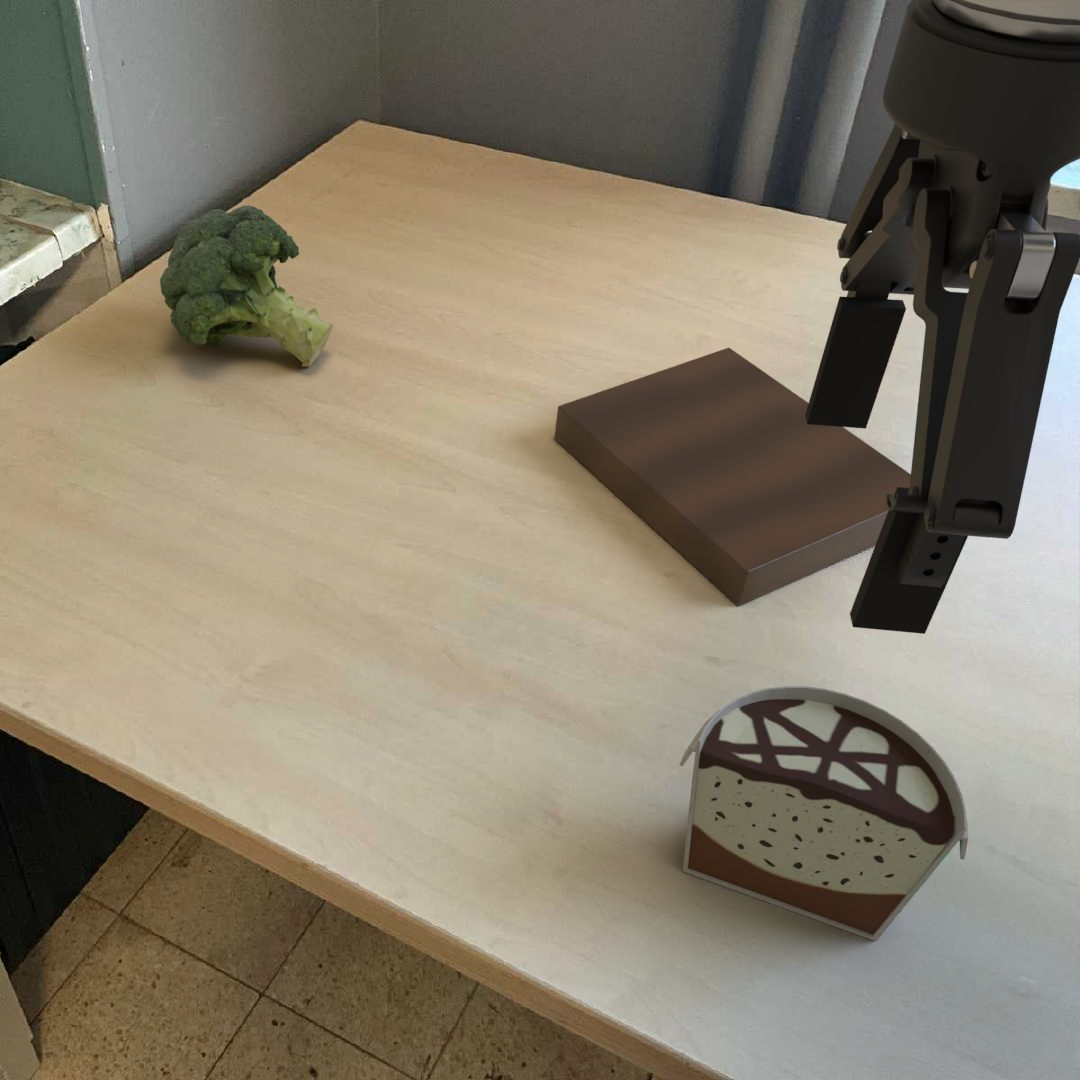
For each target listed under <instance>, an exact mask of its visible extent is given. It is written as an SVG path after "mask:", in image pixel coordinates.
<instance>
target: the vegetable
mask: <svg viewBox="0 0 1080 1080" xmlns="http://www.w3.org/2000/svg"><path fill="white" fill-rule="evenodd" d="M299 251H300V247H299V245H297V244H296V242H295V241H294V239H293V236H292V235H289V234H288V231H287V230H285V229H284V228H283V227H282V226H281V225H280V224H279V223H277V222H276V221H275V220H274V219H273V218H272V217H271V216H269V215H267V214H266V213H264V211H263V209H261V208H260V209H259V208H257V207H255V206H253V205H241V206H239V207H237V208H234V209H232V210H231V211H229V212H227V211H224V210H223V209H220V208H218V209H211V210H208V212H206V213H205V214H202V215H198V216H197V217H195V218H194V219H192V220H188V221H187V222H186V223H185V224H182V226H181V228H180V230H179V232H178V234H177V236H176V237H175V240H174V242H173V246H172V249H171V251H170V253H169V257H168V259H167V267H166V268H165V269H164V270H163V273H162V275H161V277H160V278H159V282H160V292H161V295H162V296H163V297H164V303H165V304H166V306H167V307H168V308H169V309H170V310H171V312H170V318H171V319H170V322H171V324H172V326H173V327H174V328H175V329H176V331H177V332H178V334H179V336H180V337H181V338H183V339H185V340H186V342H187V343H189V344H190V343H192V344H195V345H198V346H202V345H205V344H206V343H210V344H213V345H221V344H222V343H223V342H224V337H225V336H227V335H228V336H239V337H248V338H249V337H250V338H268V339H269V338H271V339H273V340H275V341H277V342H278V343H279V345H280V347H281V348H282V349H284V350H286V351H287V352H289V353H290V354H292V355H293V356H294V357H295V358H296V359H298V360H299V361H300V362H301V363H302V364H301V366H302V367H305V368H310V367H311V366H312V365H313V364H314V363H315V362H316V361H317V359H319V358H320V355H321V353H322V351H323V350H324V349H325V347H326V345H327V342H328V339H329V338H330V335H331V333H332V330H333V327H334V324H331V323H329V322H327V321H325V320H324V319H322V318H321V317H320V316H319V311H318V310H317V308H313V309H310V310H307V309H305V308H304V307H302V306H300V305H299V304H297V303H295V301H294V296H290V294H289V292H287V291H286V289H284V288H283V287H282V286H280V285H279V286H278V284H277V281H276V275H277V274H276V273H277V272H276V267H275V266H274V264H276V262H277V261H279V264H284V263H286V262H287V261H288V259H289V258H290V259H291V260H293V259H295V258H296V257H298V256H299V255H300V252H299Z"/></svg>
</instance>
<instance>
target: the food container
mask: <svg viewBox="0 0 1080 1080" xmlns="http://www.w3.org/2000/svg"><path fill="white" fill-rule="evenodd" d="M692 753H694V761H693V770H692V780H691V789H690V798H689V808H688V816H687V817H688V818H687V823H686V824H687V826H686V834H685V843H684V851H683V852H684V853H683V861H682V862H683V863H682V872H683V873H686V874H688V875H691V876H694V877H697V878H700V879H703V880H704V881H705V880H706V881H708V882H711V883H713V884H716V885H719V886H722V887H724V888H727V889H730V890H733V891H735V892H739V893H741V894H744V895H746V896H750V897H752V898H755V899H758V900H761V901H763V902H766V903H769V904H771V905H774V906H777V907H779V908H782V909H785V910H788V911H791V912H794V913H795V914H798V915H801V916H805V917H808V918H810V919H813V920H815V921H818V922H821V923H824V924H827V925H830V926H832V927H835V928H838V929H841V930H843V931H846V932H849V933H851V934H853V935H857V936H860V937H863V938H866V939H868V940H871V941H873V942H877V941H878V940H879V938H880V937H881V936H882V935H883V934H884V933H885V932H886V930H887V929H888V927H889V926H890V925H891V924H892V923H893V922H894V920H895V919H896V918H897V917H898V915H899V914H900V913H901V912H902V911H903V910H904V908H905V907H906V906H907V904H909V902H910V901H911V899H913V897H914V896H915V895H916V893H917V892H918V891H919V890H920V889H921V887H923V885H924V884H925V882H927V880H928V879H929V878H930V876H931V875H932V874H933V873H934V872H935V870H936V869H937V868H938V867H939V865H941V863H942V862H943V860H945V858H946V857H947V856H948V855H949V853H950V852H951V851H952V849H953V848H954V847H955V846H956V845H957V844H958V842H959V860H965V858H966V853H967V847H968V842H969V825H968V824H969V823H968V819H967V810H966V806H965V802H964V797H963V794H962V792H961V790H960V789H961V788H960V787H959V785H958V781H957V780H956V777H955V776H954V774H953V772H952V771H951V769H950V768H949V766H948V764H947V763H946V761H945V760H944V759H943V758H942V757H941V755H940V754H939V753H938V752H937V750H936V749H935V748H934V746H932V745H931V744H930V743H929V742H928V741H927V739H925V738H924V737H923V736H922V735H921V734H920V733H919V732H917V731H916V730H915V729H914V728H913V727H911V726H909V725H908V724H907V723H906V722H904V721H903V720H902V719H900V718H898V717H897V716H895V715H893V714H892V713H890V712H888V711H887V710H886V709H884V708H881V707H880V706H877V705H874V704H873V703H871V702H869V701H867V700H864V699H861V698H858V697H856V696H852V695H850V694H847V693H844V692H840V691H835V690H831V689H827V688H822V687H814V686H805V685H802V686H801V685H784V686H783V685H782V686H774V687H767V688H763V689H759V690H755V691H751V692H749V693H746V694H743V695H742V696H739V697H737V698H735V699H733V700H732V701H730V702H729V703H727V704H726V705H724V706H722V708H721V709H719V710H717V711H716V712H715V713H714V714H713V715H711V717H709V718H708V719H707V720H706V721H705V722H704V724H703V725H702V726H701V727H700V729H699V730H698V732H697V733H696V734H695V736H694V737H693V739H692V740H691V742H690V744H689V745H688V746H687V748H686V749H685V750H684V753H683V756H682V758H681V760H680V762H679V766H681V767H683V766H684V765H685V764H686V763H687V761H688V760H689V758H690V757H691V755H692Z"/></svg>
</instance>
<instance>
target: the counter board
mask: <svg viewBox="0 0 1080 1080" xmlns="http://www.w3.org/2000/svg"><path fill="white" fill-rule="evenodd" d="M808 404H809V401H806V400H805V399H804V398H803V397H801V396H799V395H798V394H797V393H795V392H793V391H792V390H791V389H790V388H788V387H786V386H785V385H784V384H782V383H780V382H779V381H778V380H776V379H775V378H774V377H772V376H771V375H769V374H768V373H766V372H765V371H763V370H762V369H761V368H759V367H758V366H757V365H756V364H754V363H752V362H751V361H749V360H748V359H746V358H745V357H743V356H742V355H741V354H739V353H738V352H736V351H735V350H733V349H732V348H731V347H726V348H723V349H719V350H717V351H715V352H711V353H708V354H706V355H703V356H700V357H697V358H694V359H691V360H688V361H685V362H682V363H679V364H676V365H674V366H671V367H668V368H664V369H662V370H659V371H656V372H653V373H650V374H647V375H645V376H642V377H639V378H636V379H633V380H630V381H628V382H624V383H622V384H618V385H616V386H613V387H609V388H607V389H604V390H601V391H598V392H595V393H592V394H589V395H587V396H583V397H581V398H578V399H575V400H572V401H570V402H569V401H568V402H567V403H566V402H565V403H564V404H560V405H558V406H557V411H556V420H555V429H554V437H553V439H554V440H555V441H556V442H557V443H558V444H559V445H560V446H561V447H562V448H563V449H564V450H565V451H567V453H569V454H570V455H571V456H572V457H573V458H574V459H576V460H577V461H578V463H580V464H581V465H582V466H583V467H585V468H586V469H587V471H589V472H590V473H591V474H592V475H593V476H594V477H595V478H596V479H598V481H600V482H601V483H602V484H603V485H604V486H605V487H606V488H607V489H609V491H611V492H612V493H613V494H614V495H615V496H616V497H617V498H618V499H620V500H621V501H622V502H623V503H624V504H625V505H626V506H627V507H629V509H631V510H632V512H634V513H635V514H636V515H637V516H638V517H640V519H641V520H643V522H645V524H647V525H648V526H649V527H650V528H652V529H653V531H654V532H656V533H657V534H658V535H659V536H660V537H661V538H663V539H664V540H665V541H666V542H667V543H668V544H669V546H671V547H672V548H674V549H675V551H677V552H678V554H680V555H681V556H682V557H683V558H685V560H687V561H688V562H689V563H690V564H691V565H692V566H693V567H694V568H695V569H697V570H698V571H699V573H701V574H702V576H704V577H705V578H706V579H708V580H709V581H710V582H711V583H712V584H713V585H714V586H715V587H717V589H719V590H720V591H721V592H722V594H724V595H725V596H726V597H727V598H729V599H730V601H732V602H733V603H734V604H735V605H736V606H737V607H740V606H742V605H744V604H747V603H749V602H752V601H753V600H756V599H758V598H760V597H762V596H764V595H767V594H769V593H772V592H774V591H776V590H778V589H780V588H783V587H785V586H788V585H789V584H792V583H794V582H796V581H798V580H801V579H803V578H806V577H808V576H810V575H812V574H814V573H816V572H819V571H821V570H824V569H825V568H828V567H831V566H832V565H835V564H837V563H839V562H841V561H844V560H846V559H848V558H850V557H852V556H855V555H857V554H859V553H861V552H864V551H866V550H868V549H870V548H873V547H875V545H876V542H877V540H878V537H879V534H880V532H881V529H882V526H883V524H884V521H885V518H886V516H887V513H888V508H887V502H886V495H887V494H895V492H896V489H897V487H904V488H910V478H911V472H910V473H909V472H908V471H907V470H906V469H904V468H903V467H901V466H900V465H898V464H897V463H895V462H894V461H893V460H891V459H889V458H888V457H887V456H885V455H884V454H883V453H881V452H880V451H879V450H877V449H876V448H874V447H873V446H871V445H869V443H866V442H865V441H864V440H862V439H861V438H860V437H858V436H857V435H855V434H854V433H853V432H851V431H850V430H848V428H846V427H837V426H823V425H810V424H807V421H806V417H805V414H806V411H807V407H808Z"/></svg>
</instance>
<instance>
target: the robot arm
mask: <svg viewBox="0 0 1080 1080" xmlns="http://www.w3.org/2000/svg"><path fill="white" fill-rule="evenodd" d="M894 49H895V50H894V52H893V56H892V60H891V62H890V67H889V70H888V74H887V77H886V81H885V85H884V88H883V93H882V101H883V106H884V109H885V111H886V113H887V115H888V117H889V118H890V120H891V121H892V122H893V123H894V125H893V128H892V130H891V132H890V134H889V136H888V139H887V140H886V142H885V144H884V146H883V148H882V151H881V153H880V155H879V157H878V158H877V161H876V164H875V165H874V167H873V169H872V171H871V173H870V176H868V177H869V178H868V179H867V182H865V183H866V184H865V185H864V188H863V190H862V191H861V193H860V195H859V198H858V200H857V202H856V204H855V206H854V208H853V210H852V212H851V214H850V216H849V218H848V220H847V222H846V225H845V226H844V228H843V231H842V232H841V236H840V238H839V239H838V240H837V244H836V249H837V251H838V258H839V259H848V261H846V263H845V264H844V266H843V267H842V270H841V272H840V275H839V282H840V289H841V290H842V291H844V292H847V294H846V296H841V295H840V296H839V297H838V302H837V304H836V308H835V312H834V315H833V318H832V322H831V325H830V328H829V332H828V334H827V339H826V341H825V345H824V348H823V353H822V356H821V359H820V363H819V366H818V370H817V373H816V376H815V380H814V382H813V383H814V384H813V386H812V391H811V394H810V397H809V400H808V403H809V404H808V407H807V411H806V414H805V417H806V421H807V424H810V425H823V426H837V427H844V428H850V429H851V428H853V429H867V427H868V424H869V421H870V417H871V416H872V412H873V409H874V407H875V404H876V403H875V402H876V400H877V397H878V394H879V391H880V387H881V385H882V382H883V379H884V377H885V373H886V370H887V368H888V364H889V362H890V358H891V355H892V353H893V350H894V349H893V348H894V346H895V344H896V340H897V337H898V335H899V331H900V328H901V325H902V323H903V319H904V317H905V314H906V311H907V307H906V304H905V302H904V300H903V299H891V298H890V299H889V296H890V294H894V295H907V296H908V295H911V296H913V299H912V309H913V312H914V314H915V315H916V316H917V317H918V318H920V319H921V320H922V321H923V322H924V325H925V329H924V339H923V347H922V360H921V367H920V368H921V369H920V379H919V391H918V398H917V407H916V408H917V410H916V420H915V430H914V439H913V440H914V441H913V448H912V460H911V470H910V474H911V478H910V488H904V487H897V489H896V492H895V494H887V495H886V502H887V508H888V513H887V516H886V518H885V521H884V524H883V526H882V529H881V532H880V534H879V537H878V540H877V542H876V545H875V546H874V548H873V550H872V553H871V556H870V559H869V561H868V564H867V567H866V569H865V571H864V575H863V577H862V580H861V582H860V585H859V588H858V591H857V593H856V596H855V599H854V601H853V604H852V607H851V609H850V612H849V616H850V622H851V625H852V628H858V629H869V630H880V631H888V632H889V631H890V632H899V633H901V632H902V633H911V634H912V633H913V634H920V635H921V634H922V635H925V634H926V633H927V630H928V628H929V626H930V623H931V622H932V618H933V616H934V614H935V613H936V609H937V608H938V605H939V603H940V601H941V598H942V596H943V594H944V591H945V589H946V587H947V585H948V583H949V580H950V579H951V576H952V573H953V571H954V569H955V567H956V565H957V562H958V560H959V558H960V556H961V553H962V551H963V549H964V547H965V544H966V542H967V539H968V537H978V538H993V539H1006V540H1007V539H1009V538H1011V536H1012V535H1013V532H1014V530H1015V527H1016V522H1017V517H1018V513H1019V507H1020V503H1021V498H1022V494H1023V490H1024V484H1025V479H1026V475H1027V471H1028V465H1029V462H1030V461H1029V460H1030V456H1031V450H1032V446H1033V442H1034V437H1035V431H1036V428H1037V427H1036V426H1037V422H1038V417H1039V412H1040V407H1041V404H1042V398H1043V394H1044V389H1045V384H1046V380H1047V375H1048V370H1049V365H1050V360H1051V356H1052V351H1053V346H1054V343H1055V342H1054V341H1055V336H1056V332H1057V328H1058V327H1057V326H1058V322H1059V318H1060V312H1061V310H1062V307H1063V304H1064V301H1065V299H1066V296H1067V294H1068V291H1069V288H1070V285H1071V283H1072V280H1073V278H1074V275H1075V272H1076V269H1077V267H1078V264H1079V262H1080V234H1079V233H1077V232H1064V231H1063V232H1061V231H1047V223H1048V212H1049V199H1048V197H1049V193H1050V189H1051V186H1052V185H1051V184H1052V183H1051V179H1052V177H1054V175H1055V174H1056V173H1057V172H1058V171H1059V170H1061V169H1063V168H1064V167H1066V166H1068V165H1069V164H1072V163H1073V162H1076V161H1078V160H1080V0H911V1H910V2H909V3H908V5H907V6H906V10H905V14H904V17H903V21H902V24H901V28H900V32H899V35H898V38H897V43H896V45H895V48H894ZM946 288H947V289H964V290H968V291H967V292H964V291H963V292H961V291H951V290H950V291H949V290H947V289H946Z"/></svg>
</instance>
